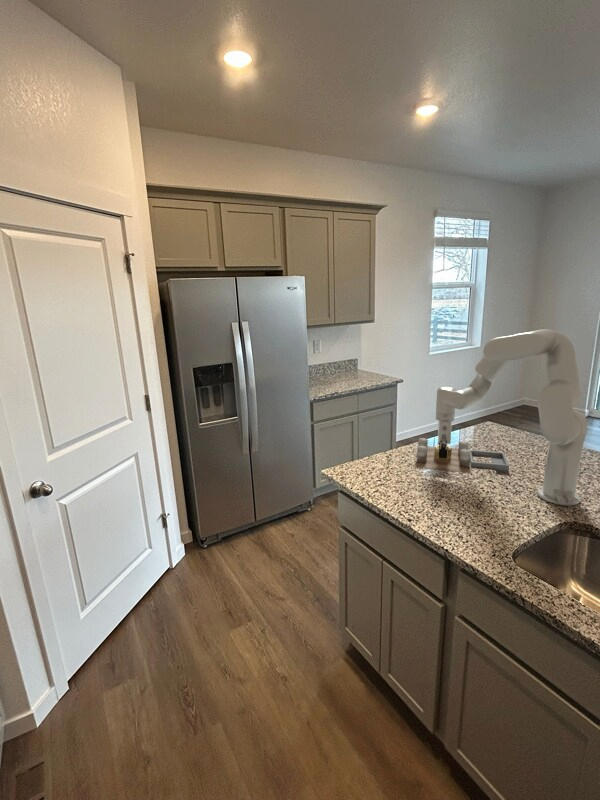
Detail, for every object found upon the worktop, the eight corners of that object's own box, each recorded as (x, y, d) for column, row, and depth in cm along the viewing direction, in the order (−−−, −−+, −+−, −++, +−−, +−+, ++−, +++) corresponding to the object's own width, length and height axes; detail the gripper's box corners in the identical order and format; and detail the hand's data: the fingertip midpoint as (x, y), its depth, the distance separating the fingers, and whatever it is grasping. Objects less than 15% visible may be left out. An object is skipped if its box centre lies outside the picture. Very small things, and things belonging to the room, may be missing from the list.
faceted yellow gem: (450, 456, 171) (451, 445, 170) (451, 461, 165) (451, 450, 164) (434, 454, 173) (434, 444, 172) (434, 459, 168) (434, 449, 166)
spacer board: (470, 475, 154) (472, 459, 153) (415, 470, 161) (416, 454, 159) (466, 451, 178) (467, 437, 176) (418, 447, 185) (419, 433, 183)
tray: (508, 472, 156) (509, 465, 155) (470, 468, 161) (471, 462, 160) (503, 459, 169) (503, 452, 168) (468, 456, 173) (468, 449, 173)
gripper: (455, 422, 155) (452, 462, 160) (453, 410, 171) (451, 447, 176) (435, 421, 158) (433, 460, 162) (435, 409, 174) (433, 445, 178)
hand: (442, 453), depth 169 cm, fingers open, 9 cm apart
